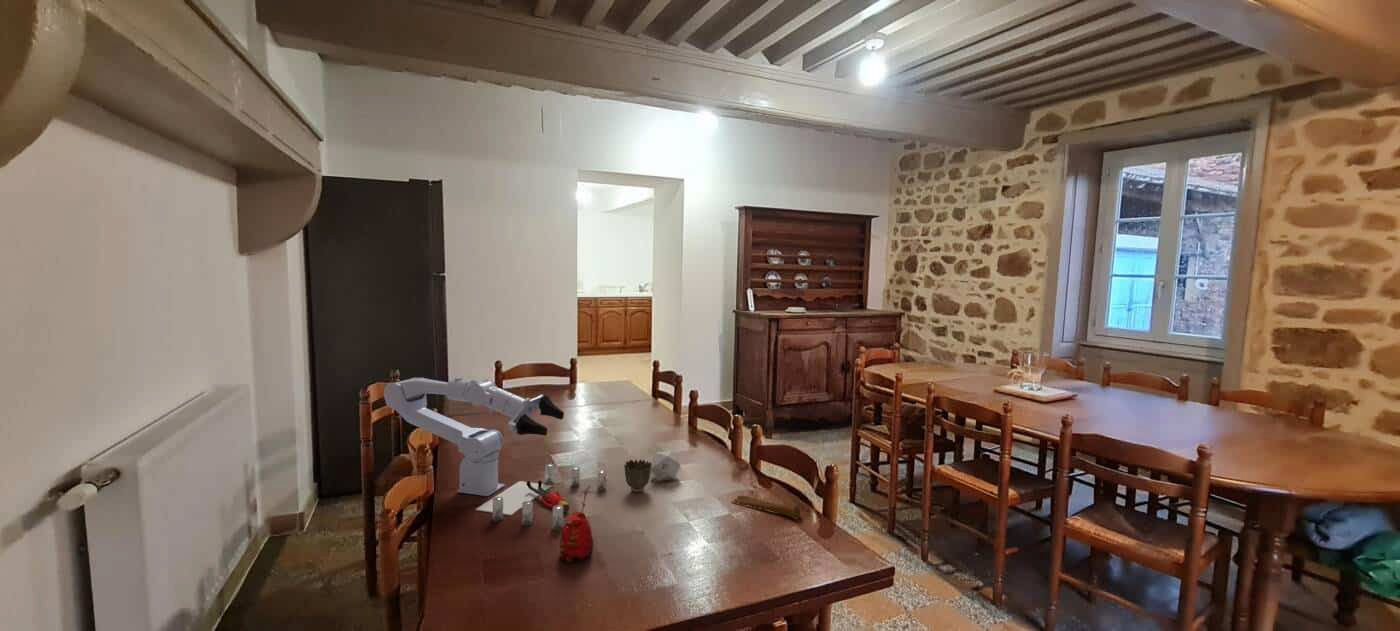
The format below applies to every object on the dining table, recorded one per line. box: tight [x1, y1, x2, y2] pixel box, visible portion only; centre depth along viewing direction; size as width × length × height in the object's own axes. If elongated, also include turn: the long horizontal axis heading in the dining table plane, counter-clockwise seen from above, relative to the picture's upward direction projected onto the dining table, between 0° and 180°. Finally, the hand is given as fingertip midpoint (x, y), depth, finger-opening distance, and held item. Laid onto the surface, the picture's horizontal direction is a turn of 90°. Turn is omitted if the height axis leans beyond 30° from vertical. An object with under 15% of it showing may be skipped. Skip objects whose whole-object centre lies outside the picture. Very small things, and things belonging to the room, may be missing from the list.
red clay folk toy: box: [559, 485, 594, 564], centre depth 122 cm, size 8×7×15 cm
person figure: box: [526, 480, 570, 514], centre depth 149 cm, size 5×4×18 cm
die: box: [650, 450, 681, 482], centre depth 169 cm, size 8×9×10 cm
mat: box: [475, 480, 552, 517], centre depth 152 cm, size 10×20×1 cm, turn 166°
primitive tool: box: [733, 494, 801, 520], centre depth 150 cm, size 19×6×4 cm, turn 56°
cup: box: [623, 459, 652, 494], centre depth 158 cm, size 8×7×8 cm
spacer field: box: [492, 463, 607, 531], centre depth 149 cm, size 18×27×5 cm
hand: (554, 423), depth 149 cm, fingers open, 7 cm apart
